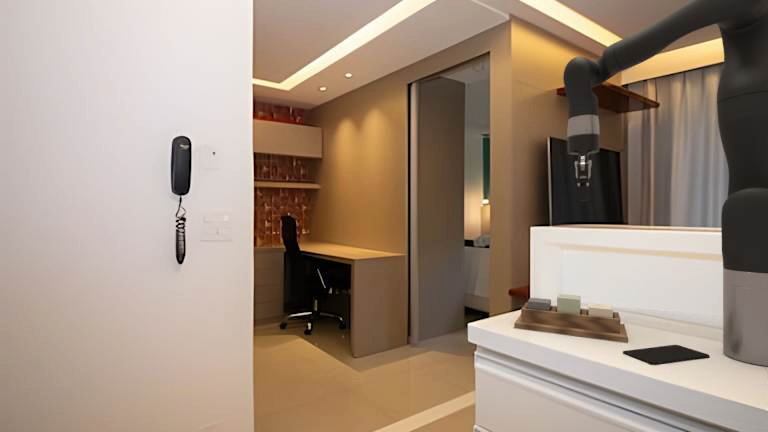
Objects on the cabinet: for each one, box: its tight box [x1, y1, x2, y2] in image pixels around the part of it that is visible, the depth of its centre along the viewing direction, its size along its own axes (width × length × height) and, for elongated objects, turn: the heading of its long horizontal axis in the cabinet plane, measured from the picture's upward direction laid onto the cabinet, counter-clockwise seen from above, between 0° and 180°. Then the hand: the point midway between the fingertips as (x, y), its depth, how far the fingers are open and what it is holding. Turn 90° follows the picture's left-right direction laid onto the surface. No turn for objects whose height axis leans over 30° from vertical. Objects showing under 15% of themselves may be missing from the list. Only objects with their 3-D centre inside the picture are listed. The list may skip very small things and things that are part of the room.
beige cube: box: [587, 302, 614, 318], centre depth 92 cm, size 5×5×5 cm
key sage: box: [556, 293, 582, 315], centre depth 95 cm, size 5×5×5 cm
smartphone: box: [622, 344, 711, 366], centre depth 77 cm, size 7×1×15 cm
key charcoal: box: [527, 297, 552, 311], centre depth 99 cm, size 5×5×5 cm
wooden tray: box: [513, 302, 629, 344], centre depth 95 cm, size 24×12×4 cm, turn 61°
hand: (583, 200), depth 102 cm, fingers closed
